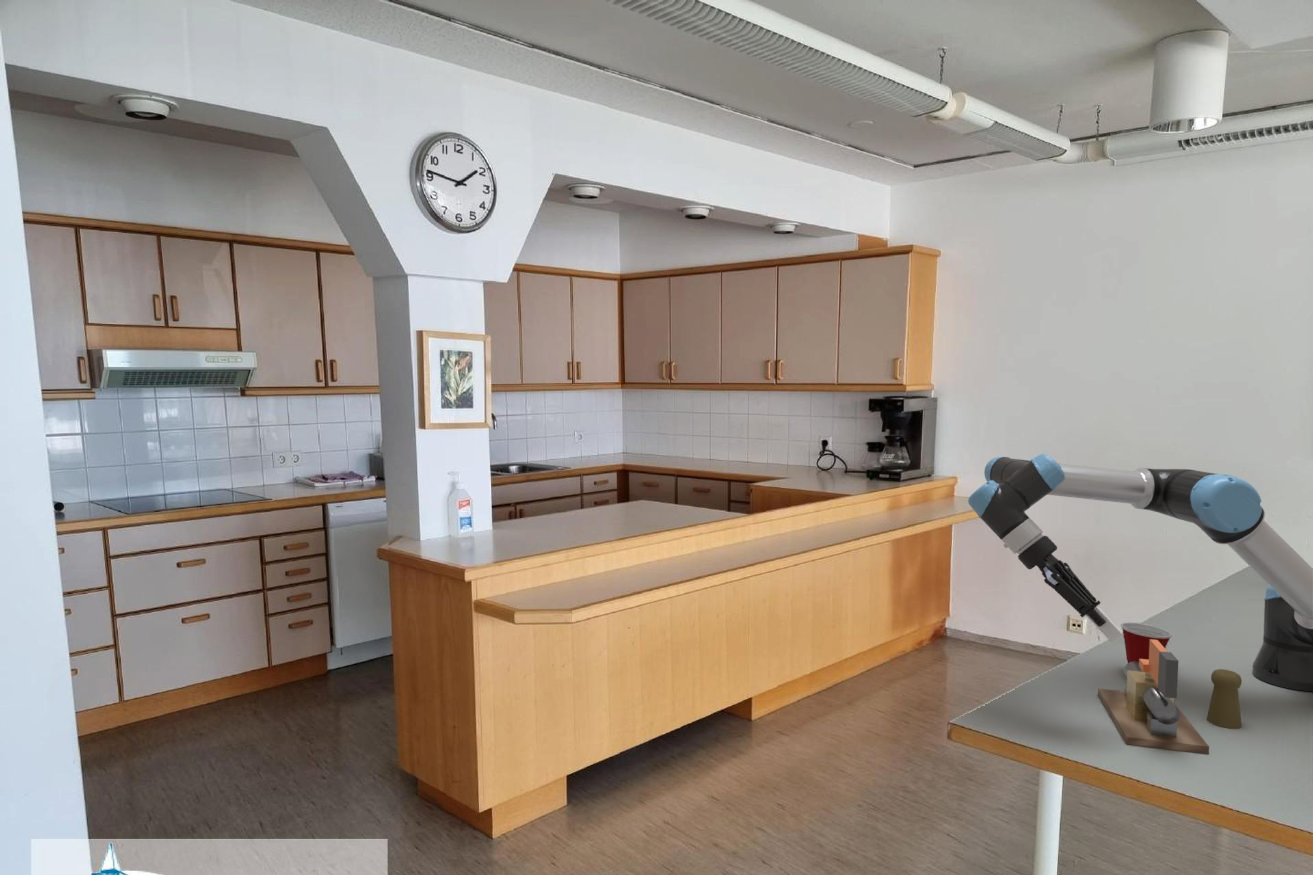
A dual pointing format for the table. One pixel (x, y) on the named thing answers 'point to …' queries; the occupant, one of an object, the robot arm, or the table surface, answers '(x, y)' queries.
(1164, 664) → the valve lever
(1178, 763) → the table surface
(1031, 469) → the robot arm
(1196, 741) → the mounting board
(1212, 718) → the cork
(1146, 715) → the valve body
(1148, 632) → the plastic cup
